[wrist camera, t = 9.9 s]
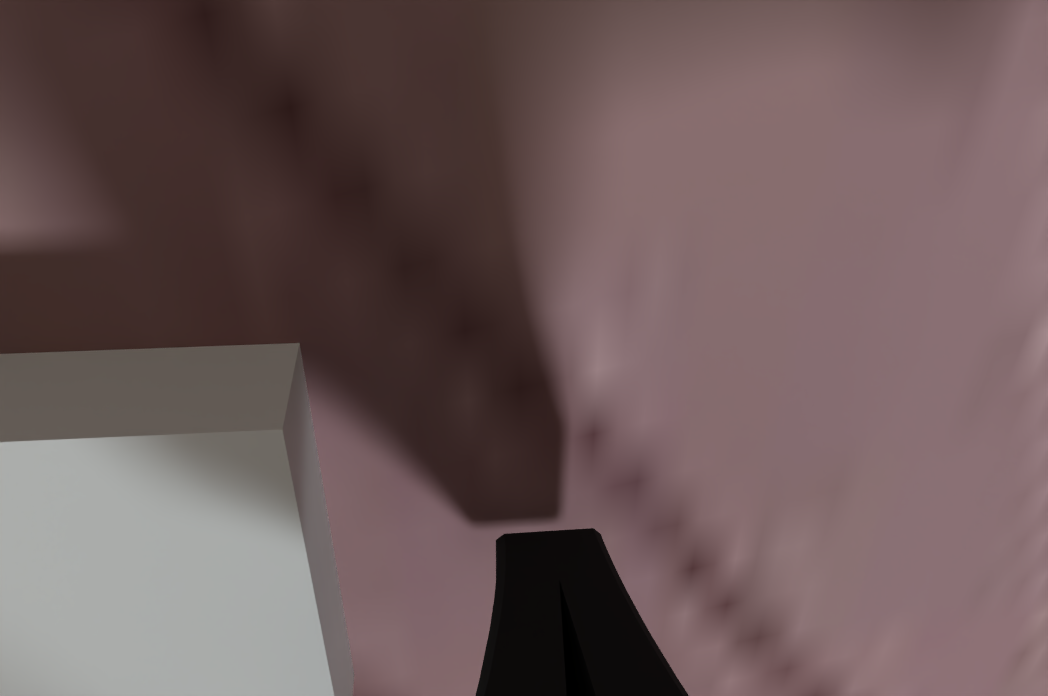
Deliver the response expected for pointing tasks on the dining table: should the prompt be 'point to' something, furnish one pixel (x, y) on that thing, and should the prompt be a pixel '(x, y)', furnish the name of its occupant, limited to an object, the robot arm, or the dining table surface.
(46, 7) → the dining table surface
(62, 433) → the tile
